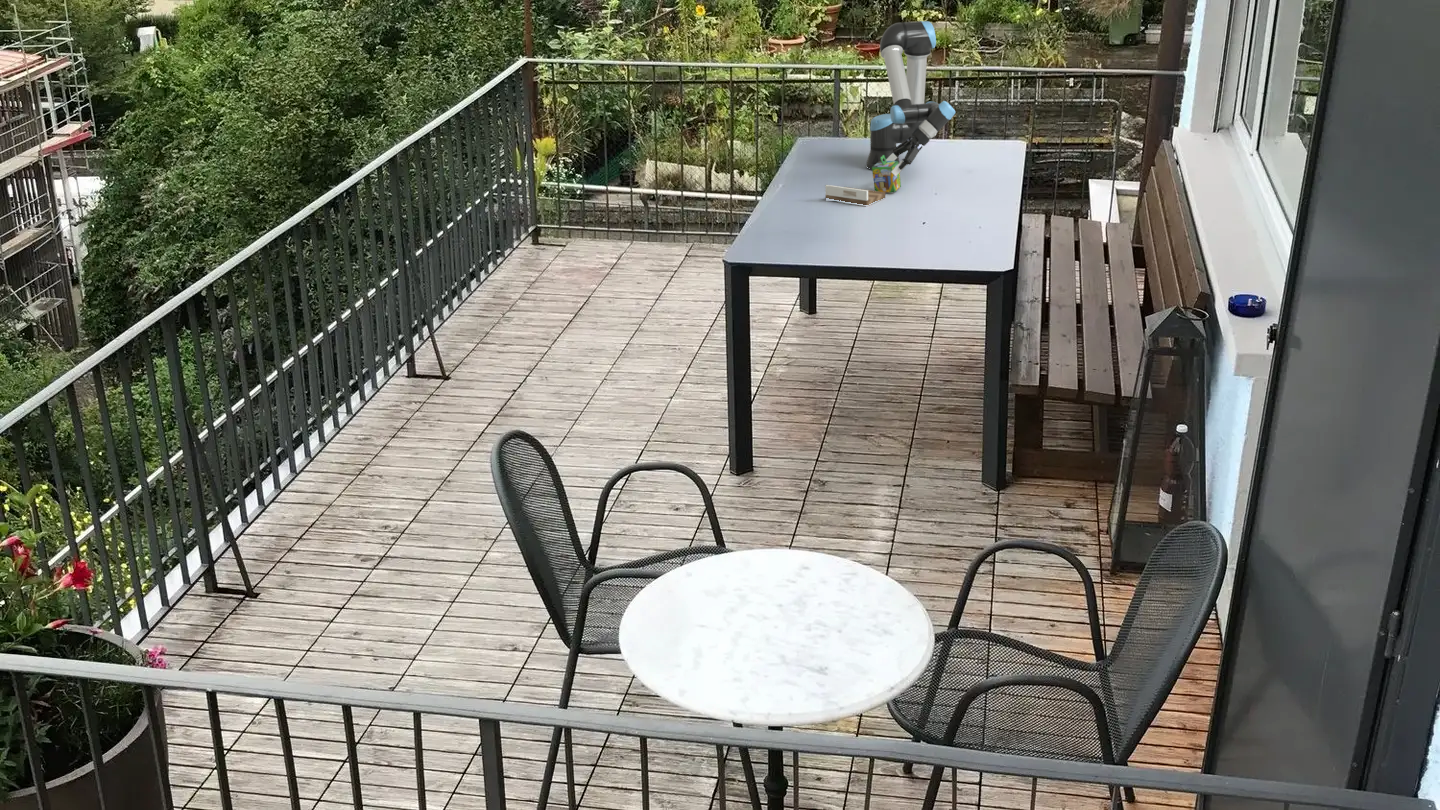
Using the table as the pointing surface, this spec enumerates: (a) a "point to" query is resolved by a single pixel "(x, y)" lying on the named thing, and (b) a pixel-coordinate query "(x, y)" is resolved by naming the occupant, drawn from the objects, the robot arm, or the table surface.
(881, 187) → the chalk box
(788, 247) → the table surface
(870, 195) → the shelf board
